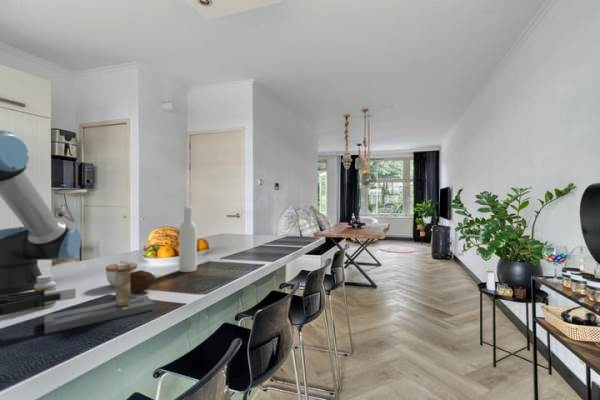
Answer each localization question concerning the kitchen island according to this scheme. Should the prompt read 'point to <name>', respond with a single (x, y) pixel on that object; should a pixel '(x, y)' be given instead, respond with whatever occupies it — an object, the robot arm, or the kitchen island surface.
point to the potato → (141, 281)
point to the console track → (95, 314)
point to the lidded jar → (112, 272)
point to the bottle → (187, 243)
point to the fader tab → (122, 283)
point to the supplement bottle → (45, 287)
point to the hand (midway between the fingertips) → (75, 292)
